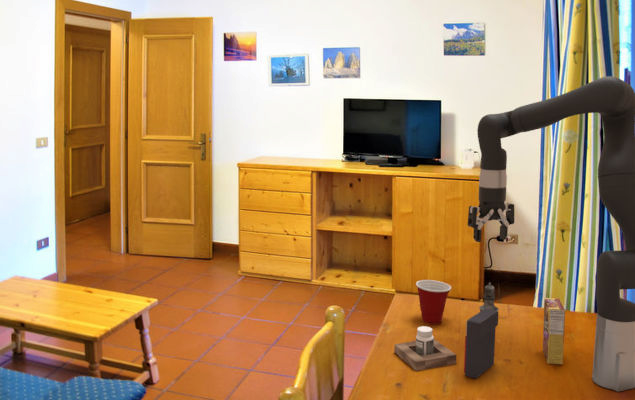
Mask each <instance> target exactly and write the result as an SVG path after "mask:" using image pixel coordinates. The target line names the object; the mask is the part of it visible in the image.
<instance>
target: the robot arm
mask: <svg viewBox="0 0 635 400" xmlns="http://www.w3.org/2000/svg"><path fill="white" fill-rule="evenodd" d="M595 113H597V114H600V117H601V122H602V123H601V124H602V129H603V143H602V144H603V146H602V149H601V153H600V157H599V160H598V168H597V182H598V193H599V195H598V196H599V198H600V200H601V203H602V204H603V206H604V207H605V208H606V210H607V211H608V213H609V214H610V216H611V217H612V218H613V219H614V221H615V222H616V224H617V225H618V227H619V228H620V230H621V234H622V236H623V241H624V246H625V250H622V249H621V250H606V251H603V252H602V253H601V254H600V255H599V257H598V258H597V259H598V260H597V264H596V293H595V294H596V296H595V299H596V300H595V301H596V305H597V306H596V308H597V309H596V323H595V333H594V334H595V335H594V336H595V337H594V347H593V348H594V349H593V360H592V361H593V362H592V363H593V364H592V377H591V378H592V381H593V382H594V383H595V384H596V385H598V386H600V387H603V388H606V389H610V390H613V391H615V392H622V391H628V390H630V389H631V390H632V389H635V302H632V301H630V300H627V299H624V298H622V297H621V290H635V90H634V88H633V87H632V85H631V84H629V83H628V82H626V81H624V80H622V79H621V78H620V77H619V78H618V77H616V76H612V75H611V76H610V75H609V76H606V75H605V76H602V77H600V78H597V79H594V80H593V81H590V82H588V83H586V84H584V85H581V86H579V87H577V88H575V89H573V90H570V91H568V92H565V93H562V94H560V95H556V96H553V97H550V98H546V99H544V100H539V101H537V102H532V103H528V104H524V105H522V106H519V107H516V108H515V109H512V110H510V111H505V112H501V113H500V112H499V113H488V114H486V115H484V116H482V117H481V118H480V120H479V122H478V124H477V130H476V131H477V140H478V144H479V145H478V146H479V150H480V154H481V156H480V170H479V177H478V179H479V180H478V182H479V183H478V202H479V203H478V206H473V205H470V206H468V214H467V215H468V216H467V224H466V225H467V226H468V227H469V228H472V229H473V237H472V238H473V240H474V241H475V242H477V243H481V242H482V228H483V226H484V224H487V222H488V221H489V222H490V221H493V220H494V221H498V223H499V224H500V226H499V239H500V240H503V241H505V240H506V239H507V237H508V229H509V226H510V225H514V224H515V204H514V203H510V202H506V201H507V184H508V183H507V182H508V180H507V179H508V175H507V163H508V162H507V161H508V160H507V159H508V155H507V154H508V153H507V150H505V148H503V147H502V140H501V139H504V138H508V137H512V136H515V135H518V134H520V133H527V132H531V131H537V130H539V129H545V128H546V127H550V126H551V125H555V124H556V123H558V122H560V121H562V120H565V119H567V118H570V117H574V116H576V115H583V114H595ZM505 202H506V203H505ZM504 211H505V214H504Z"/></svg>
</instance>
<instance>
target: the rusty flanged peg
mask: <svg viewBox="0 0 635 400" xmlns="http://www.w3.org/2000/svg"><path fill="white" fill-rule="evenodd" d="M483 298H484V300H483V304H482V305H480V306H479V308H478V309H479V312H481V311H482V310H484V309H485V308H486V309H491V310H495V311H498V312H499V307H497V306H495V299H496V295H495V286H494V285H492V283H491V282H488V284H487V285H486V286H485V287H484V295H483Z"/></svg>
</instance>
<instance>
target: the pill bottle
mask: <svg viewBox="0 0 635 400" xmlns="http://www.w3.org/2000/svg"><path fill="white" fill-rule="evenodd" d="M434 339H435V338H434V335H433V328H431V326H426V325H425V326H424V325H422V326H418V327H417V330H416V336H415V341H416V353H417V354H418V355H419V356H424V355H430V354H434Z"/></svg>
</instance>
